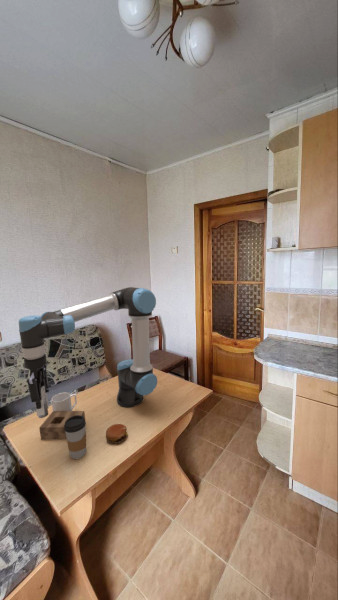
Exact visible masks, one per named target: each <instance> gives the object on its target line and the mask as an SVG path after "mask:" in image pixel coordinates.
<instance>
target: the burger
mask: <svg viewBox="0 0 338 600" xmlns="http://www.w3.org/2000/svg"><path fill="white" fill-rule="evenodd" d="M127 432H128V431H127V427H126V425H124V424H121V423H116V424H113V425H110V426H109V427H108V428H107V429H106V432H105V438H106V442H108V443H111V444H112V443H113V444H118V443H122V442H124V441H125V440H126V439H127V437H128V433H127Z"/></svg>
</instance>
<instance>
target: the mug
mask: <svg viewBox="0 0 338 600" xmlns="http://www.w3.org/2000/svg"><path fill="white" fill-rule="evenodd" d="M73 396H74V404H73V405H72V399H71V398H72V397H73ZM77 401H78V400H77V394H76V393H73V394H71V393H70V392H66V391H65V392H60V393H56V394H54V395H53V396H52V397H51V406H52V412H53V411H73V409H74V408H75V407H76V405H77Z"/></svg>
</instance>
